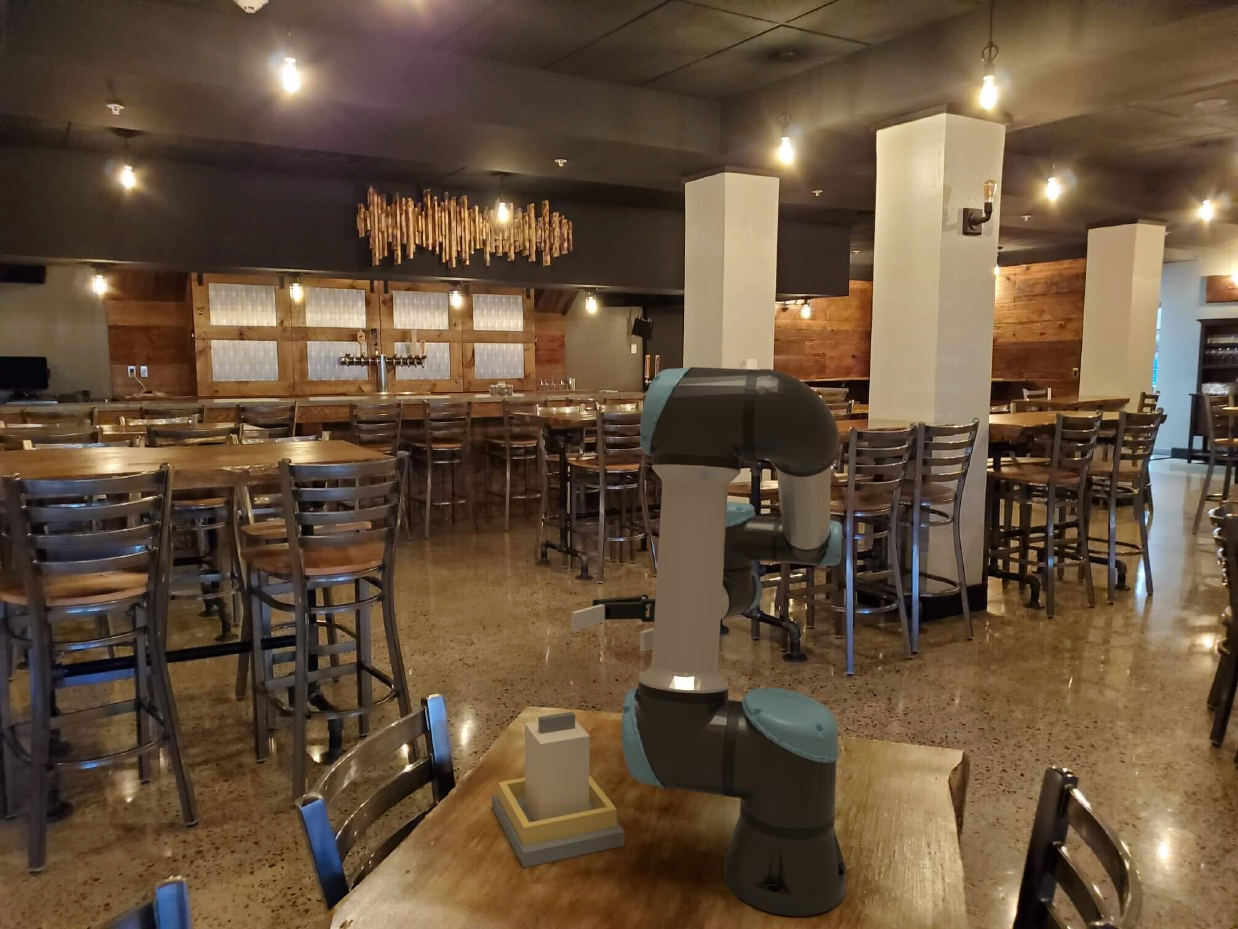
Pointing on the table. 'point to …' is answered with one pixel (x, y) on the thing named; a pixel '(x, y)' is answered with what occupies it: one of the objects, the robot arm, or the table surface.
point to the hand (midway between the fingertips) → (606, 631)
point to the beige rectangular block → (556, 767)
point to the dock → (556, 826)
